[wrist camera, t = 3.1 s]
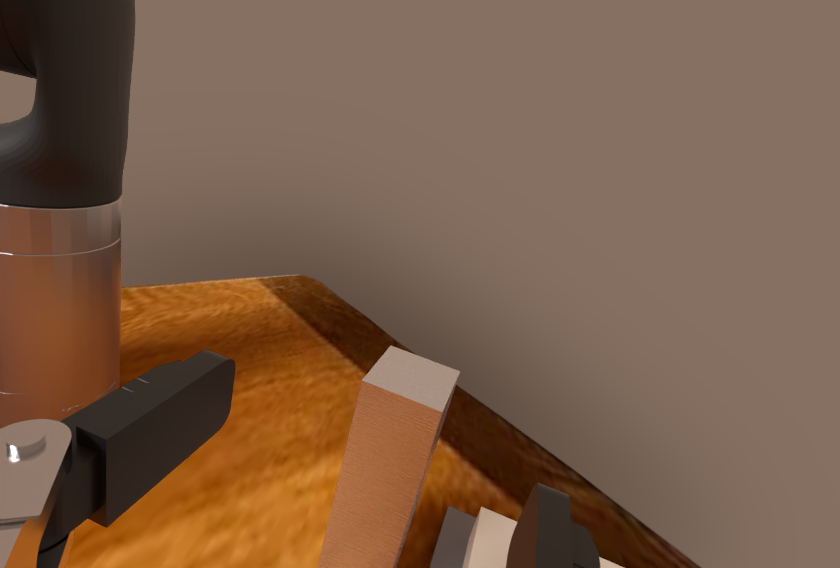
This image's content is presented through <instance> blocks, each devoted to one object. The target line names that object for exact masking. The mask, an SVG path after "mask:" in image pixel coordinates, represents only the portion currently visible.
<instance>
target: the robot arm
mask: <svg viewBox="0 0 840 568" xmlns="http://www.w3.org/2000/svg"><path fill="white" fill-rule="evenodd" d="M134 36H135V0H0V71H5V72H9V73H13V74H18V75H22V76H26V77H30V78H35V79H37V83H36V93H35V101H34V105H33V108H32V111H31V113H30V114H29V115H27V116H26V117H23V118H21V119H19V120H16V121H13V122H10V123H4V124H0V568H65V566H66V563H67V559H68V556H69V553H70V550H71V547H72V544H73V541H74V536H75V528H76V527H77V526H79V525H80V524H81V523H82V522H84V521H85V520H86V519H87V518H88V519H90V520H92V521H94V522H96V523H98V524H100V525H102V526H104V527H106V528H107V527H108V526H109V525H110V524H111V523H112V522H114V521H115V520H116V519H117V518H118V517H119V516H121V515H122V514H123V513H124V512H125V511H126V510H127V509H129V508H130V507H131V506H132V505H133V504H134V503H136V502H137V501H138V500H139V499H140V498H141V497H143V496H144V495H145V494H146V493H147V492H148V491H149V490H151V489H152V488H153V487H154V486H155V485H156V484H158V483H159V482H160V481H161V480H162V479H163V478H164V477H166V476H167V475H168V474H169V473H170V472H171V471H173V470H174V469H175V468H176V467H177V466H178V465H180V464H181V463H182V462H183V461H184V460H185V459H186V458H188V457H189V456H190V455H191V454H192V453H193V452H195V451H196V450H197V449H198V448H199V447H200V446H202V445H203V444H204V443H205V442H206V441H207V440H208V439H210V438H211V437H212V436H213V435H214V434H215V433H217V432H218V431H219V430H220V428H221V427H222V426H223V424H224V423H225V421H226V419H227V417H228V415H229V412H230V408H231V401H232V392H233V384H234V375H235V362H234V360H232V359H230V358H227V357H225V356H222V355H220V354H217V353H215V352H212V351H210V350H203V351H201V352H199V353H198V354H196V355H194V356H192V357H191V358H189V359H187V360H186V361H184V362H182V361H180V360H179V361H175V362H171V363H168V364H164V365H161V366H157V367H155V368H153V369H152V370H150V371H148V372H146V373H145V374H143V375H141V376H139V377H138V379H137V380H136V379H134V380H132V381H130V382H129V383H127V384H125V385H123V387H122V388H121V389H120V388H119V380H120V317H121V214H122V175H123V167H124V162H125V155H126V148H127V138H128V113H129V98H130V84H131V72H132V62H133V50H134ZM506 568H600V559H599V551H598V549H597V547H596V545H595V543H594V541H593V539H592V537H591V535H590V533H589V531H588V529H587V528H586V527H583V526H581V525H578V524H576V523H574V522H571V511H570V497H569V495H568V494H565V493H563V492H560V491H558V490H555V489H553V488H550V487H548V486H545V485H543V484H540V483H538V482H536V483H535V485H534V486H533V488H532V490H531V493H530V495H529V497H528V500H527V502H526V504H525V506H524V509H523V511H522V513H521V516H520V518H519V520H518V522H517V525H516V527H515V529H514V532H513V535H512V538H511V542H510V546H509V550H508V555H507V563H506Z"/></svg>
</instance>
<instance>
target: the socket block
mask: <svg viewBox="0 0 840 568" xmlns="http://www.w3.org/2000/svg"><path fill="white" fill-rule="evenodd" d="M516 525H517V522H516V521H514V520H512V519H509V518H507V517H505V516H502V515H500V514H498V513H495V512H493V511H491V510H488V509H486V508H484V507H481V509H480V511H479V514H478V516H477V518H476V517H474V516H472V515H469V514H467V513H465V512H462V511H460V510H458V509H455V508H453V507H451V506H448V509H447V512H446V514H445V517H444V520H443V523H442V526H441V530H440V533H439V536H438V539H437V543H436V546H435V549H434V553H433V556H432V559H431V562H430V566H429V568H506V563H507V555H508V550H509V546H510V542H511V538H512V535H513V532H514V529H515V527H516ZM599 559H600V568H624V567H621V566H619V565H617V564H614V563H612V562H610V561H607V560H605V559H603V558H600V557H599Z"/></svg>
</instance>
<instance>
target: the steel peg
mask: <svg viewBox="0 0 840 568" xmlns="http://www.w3.org/2000/svg"><path fill="white" fill-rule="evenodd" d="M459 373H460V371H457V370H455V369H452V368H449V367H447V366H444V365H441V364H439V363H436V362H433V361H431V360H428V359H425V358H423V357H420V356H417V355H415V354H412V353H409V352H407V351H404V350H401V349H399V348H396V347H393V346H390V347H389V348H388V349H387V351H386V352H385V353H384V354H383V356H382V357H381V358H380V359H379V360H378V362H377V363H376V364H375V365H374V366H373V368H372V369H371V370H370V371H369V372H368V374H367V375H366V376H365V377H364V378H363V380H362V382H361V386H360V390H359V394H358V399H357V403H356V407H355V411H354V416H353V420H352V424H351V428H350V432H349V437H348V441H347V445H346V449H345V454H344V458H343V462H342V466H341V470H340V475H339V479H338V483H337V487H336V492H335V496H334V500H333V504H332V508H331V513H330V517H329V521H328V525H327V530H326V534H325V538H324V542H323V546H322V551H321V555H320V559H319V563H318V568H396V567H397V564H398V561H399V558H400V555H401V552H402V549H403V546H404V543H405V540H406V537H407V533H408V530H409V527H410V524H411V521H412V518H413V515H414V512H415V509H416V506H417V503H418V500H419V497H420V493H421V490H422V487H423V484H424V481H425V478H426V475H427V472H428V469H429V466H430V463H431V460H432V456H433V453H434V450H435V447H436V444H437V441H438V438H439V435H440V432H441V429H442V426H443V423H444V420H445V416H446V413H447V410H448V407H449V404H450V401H451V398H452V395H453V392H454V389H455V386H456V383H457V380H458V376H459Z"/></svg>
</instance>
